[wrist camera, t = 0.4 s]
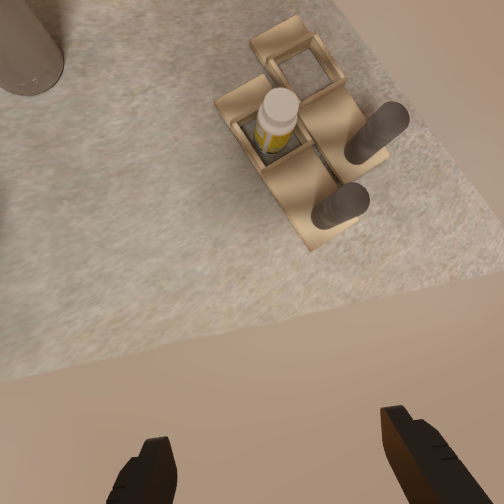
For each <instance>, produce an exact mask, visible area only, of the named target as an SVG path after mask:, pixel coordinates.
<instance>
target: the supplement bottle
mask: <svg viewBox="0 0 504 504" xmlns="http://www.w3.org/2000/svg"><path fill="white" fill-rule="evenodd" d="M298 109H299V103H298V99H297V97H296V95H295V94H294V93H293V92H292V91H290V90H289V89H286V88H275V89H272V90H271V91H269V92H268V93H267V95H266V96H265V98H264V102H263V103H262V104H261V106H260V108H259V110H258V114H257V120H256V125H255V130H254V137H253V138H254V144H255V146H256V148H257V149H258V150H259V151H260V152H262V153H263V154H266V155H277V154H279V153H281V152H282V151H283V150H284V149H285V147H286V145H287V143H288V141H289V139H290V136H291V134H292V132H293V130H294V128H295V125H296V123H297V112H298Z"/></svg>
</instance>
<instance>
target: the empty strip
mask: <svg viewBox="0 0 504 504" xmlns="http://www.w3.org/2000/svg"><path fill="white" fill-rule="evenodd" d="M249 45H250V46H251V48H252V49H253V51H254V53H255V54H256V56H257V57H258V59H259V60H260V62H261V63H262V65H263V66H264V68H265V69H266V71H267V72H268V74H269V75H270V77H271V78H272V80H273V81H274V83H275V84H276V86H277V88H286V89H289V90H290V91H292V92H293V93H294V94H295V92H294V90H293V89H292V87H291V86H290V84H289V83H288V81H287V80H286V78H285V77H284V75H283V74H282V72H281V71H280V69H279V68H278V66H277V65H279V64H280V63H282V62H284V61H286V60H287V59H289V58H291V57H293V56H295V55H296V54H298V53H300V52H302V51H304V50H305V49H307V48H309V47H310V49H311V51H312V52H313V54H314V55H315V57H316V58H317V60H318V61H319V63H320V64H321V66H322V67H323V69H324V70H325V72H326V73H327V75H328V76H329V78H330V79H331V81H332V82H333V84H331V85H329V86H328V87H326V88H324V89H323V90H321V91H319V92H317V93H316V94H314V95H312V96H311V97H309V98H307V99H305V100H304V101H302V102H301V101H300V100H299V98H298V97H297V95H296V94H295V95H296V97H297V99H298V103H299V109H298V112H297V117H298V119H299V120H300V122H301V123H302V125H303V126H304V128H305V129H306V131H307V132H308V134H309V135H310V137H311V138H312V140H313V142H314V144H315V145H316V147H317V148H318V150H319V151H320V153H321V155H322V156H323V158H324V159H325V161H326V162H327V164H328V165H329V167H330V168H331V170H332V171H333V173H334V174H335V176H336V177H337V179H338V180H339V182H340V183H341V185H342V186H343V185H344V184H346V183H350V182H351V181H353V180H355V179H356V178H358V177H359V176H361V175H362V174H364V173H365V172H367V171H369V170H370V169H372V168H373V167H375V166H376V165H378V164H380V163H381V162H383V161H384V160H386V159H387V158H389V157H390V154H389V153H388V151H387V150H386V148H385V147H384V146H386V145H387V144H388V143H389V142H391V141H392V140H393V139H394V138H395V137H397V136H398V135H399V134H400V133H402V132H403V131H404V130H405V129H406V128H407V127H408V124H409V113H408V111H407V109H406V108H405V107H404V106H403V105H402V104H400V103H398V102H387V103H385V104H383V105H382V106H381V107H380V108H379V109H378V110H377V112H376V113H375V114H374V115H373V116H372V117H371V118H370V119H369V120H368V121H367V120H366V118H365V117H364V115H363V114H362V112H361V111H360V109H359V108H358V106H357V105H356V103H355V102H354V100H353V98H352V97H351V95H350V94H349V92H348V91H347V89H346V88H345V86H344V85H345V83H346V82H347V78H346V77H345V75H344V74H343V72H342V71H341V69H340V68H339V66H338V65H337V63H336V62H335V60H334V59H333V57H332V56H331V54H330V53H329V51H328V50H327V48H326V47H325V45H324V44H323V42H322V41H321V39H320V38H319V36H318V35H317V33H316V31H315V30H314V31H313V32H311V33H309V32H308V30H307V29H306V27H305V26H304V24H303V23H302V21H301V20H300V18H299V17H298V15H295V16H294V17H292V18H290V19H288V20H286V21H284V22H282V23H281V24H279V25H277V26H275V27H273V28H271V29H269V30H268V31H266V32H264V33H262V34H260V35H258V36H256V37H255V38H253V39H251V40H250V43H249Z"/></svg>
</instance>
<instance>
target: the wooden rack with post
mask: <svg viewBox="0 0 504 504" xmlns="http://www.w3.org/2000/svg"><path fill="white" fill-rule="evenodd" d="M272 89H273V87H272V86H271V84H270V83H269V81H268V80H267V78H266V76H265V75H264V73H263V74H262V75H260V76H258V77H256V78H254V79H253V80H251V81H249V82H247V83H245V84H244V85H242V86H240V87H238V88H237V89H235V90H233V91H231V92H229V93H228V94H226V95H224V96H222V97H220V98H219V99H217V100H215V101H214V105H215V107H216V108H217V110H218V111H219V113H220V114H221V116H222V117H223V119H224V120H225V122H226V123H227V125H228V126H229V128H230V130H231V131H232V133H233V134H234V136H235V137H236V139H237V140H238V142H239V143H240V145H241V146H242V148H243V149H244V151H245V153H246V154H247V156H248V157H249V159H250V160H251V162H252V163H253V165H254V166H255V168H256V169H257V171H258V173H259V174H260V176H261V177H262V179H263V180H264V182H265V183H266V185H267V186H268V188H269V189H270V191H271V192H272V194H273V196H274V197H275V199H276V200H277V202H278V203H279V205H280V206H281V208H282V209H283V211H284V212H285V214H286V215H287V217H288V219H289V220H290V222H291V223H292V225H293V226H294V228H295V229H296V231H297V232H298V234H299V235H300V237H301V238H302V240H303V242H304V243H305V245H306V246H307V248H308V249H309V251H310V252H311V251H313V250H315V249H316V248H318V247H319V246H321V245H322V244H324V243H325V242H327V241H328V240H330V239H331V238H333V237H334V236H336V235H337V234H339V233H340V232H342V231H343V230H345V229H346V228H348V227H349V226H351V225H352V224H354V223H355V222H357V221H358V220H359V218H358V217H357V216H359V215H361V214H363V213H364V212H365V211H366V210H367V209H368V206H369V203H370V198H369V194H368V192H367V190H366V189H365V188H364V187H363V186H362V185H360V184H358V183H354V182H350V183H346V184H344V185H343V186H341V187H340V188H338V186H337V185H336V183H335V182H334V180H333V179H332V177H331V175H330V174H329V172H328V171H327V169H326V168H325V166H324V165H323V163H322V162H321V160H320V159H319V157H318V156H317V154H316V153H315V151H314V150H313V148H312V146H313V144H314V142H313V140H312V138H311V137H310V135H309V134H308V132H307V131H306V129H305V128H304V126H303V125H302V123H301V122H300V120H299V119H298V117H297V123H296V125H295V128H294V130H293V132H294V133H295V135H296V136H297V138H298V139H299V141H300V142H301V144H302V145H301V146H300V147H298V148H296V149H295V150H293V151H291V152H290V153H288V154H286V155H285V156H283V157H282V158H280V159H278V160H277V161H275V162H273V163H272V164H270V165H268V166H267V167H265V165H264V164H263V162H262V161H261V159H260V158H259V156H258V155H257V153H256V152H255V150H254V148H253V147H252V145H251V144H250V142H249V141H248V139H247V138H246V136H245V135H244V133H243V132H242V130H241V129H240V127H241V126H243V125H245V124H247V123H248V122H250V121H252V120H254V119H255V118H257V114H258V110H259V108H260V106H261V104H262V103H263V102H264V98H265V96H266V95H267V93H268V92H269V91H271V90H272Z"/></svg>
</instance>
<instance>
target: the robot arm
mask: <svg viewBox="0 0 504 504" xmlns="http://www.w3.org/2000/svg"><path fill="white" fill-rule="evenodd" d="M62 70H63V56H62V53H61V50H60V48H59V47H58V45H57V44H56V42H55V41H54V39H53V38H52V37H51V35H50V34H49V32H48V31H47V30H46V28H45V27H44V25H43V24H42V23H41V21H40V20H39V18H38V17H37V16H36V14H35V13H34V11H33V10H32V9H31V7H30V6H29V5H28V3H27V2H26V0H0V87H1V88H3V89H4V90H6V91H8V92H10V93H13V94H17V95H27V96H30V95H35V94H39V93H42V92H44V91H46V90H48V89H49V88H51V87H52V86H53V85H54V84H55V83H56V82H57V80H58V79H59V77H60V75H61V72H62ZM380 414H381V427H382V441H383V447H384V451H385V454H386V457H387V459H388V461H389V464H390V466H391V468H392V470H393V472H394V474H395V476H396V478H397V480H398V482H399V484H400V486H401V488H402V489H403V492H404V494H405V496H406V498H407V500H408V502H409V504H493V503H492V501H491V500H490V499H489V497H488V496H487V495H486V493H485V492H484V491H483V489H482V488H481V487H480V485H479V484H478V483H477V482H476V480H475V479H474V478H473V476H472V475H471V474H470V472H469V471H468V470H467V468H466V467H465V466H464V464H463V463H462V462H461V461H460V460H459V459H458V457H457V455H456V454H455V453H454V451H453V450H452V449H451V448H450V447H449V445H448V443H447V442H446V441H445V440H444V438H443V437H442V436H441V434H440V433H439V432H438V430H436V429H435V428H434V427H432V426H431V425H430V424H428V423H427V422H426V421H424V420H423V419H420V420H413V419H412V417H411V416H410V415H409V413H408V412H407V410H406V409H405V407H404V406H402V405H398V406H390V407H383V408H381V409H380ZM176 487H177V467H176V464H175V460H174V457H173V453H172V449H171V445H170V442H169V439H168V437H158V438H151V439H147V440H146V441H145V442H144V444H143V447H142V449H141V451H140V454H139V456H138V457H132V458H131V459H130V460H129V461H128V462H127V464H126V465H125V466H124V467H123V468H122V470H121V471H120V473H119V475H118V477H117V479H116V482H115V483H114V486H113V490H112V491H111V492H110V494H109V496H108V499H107V501H106V504H173V500H174V495H175V491H176Z"/></svg>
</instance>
